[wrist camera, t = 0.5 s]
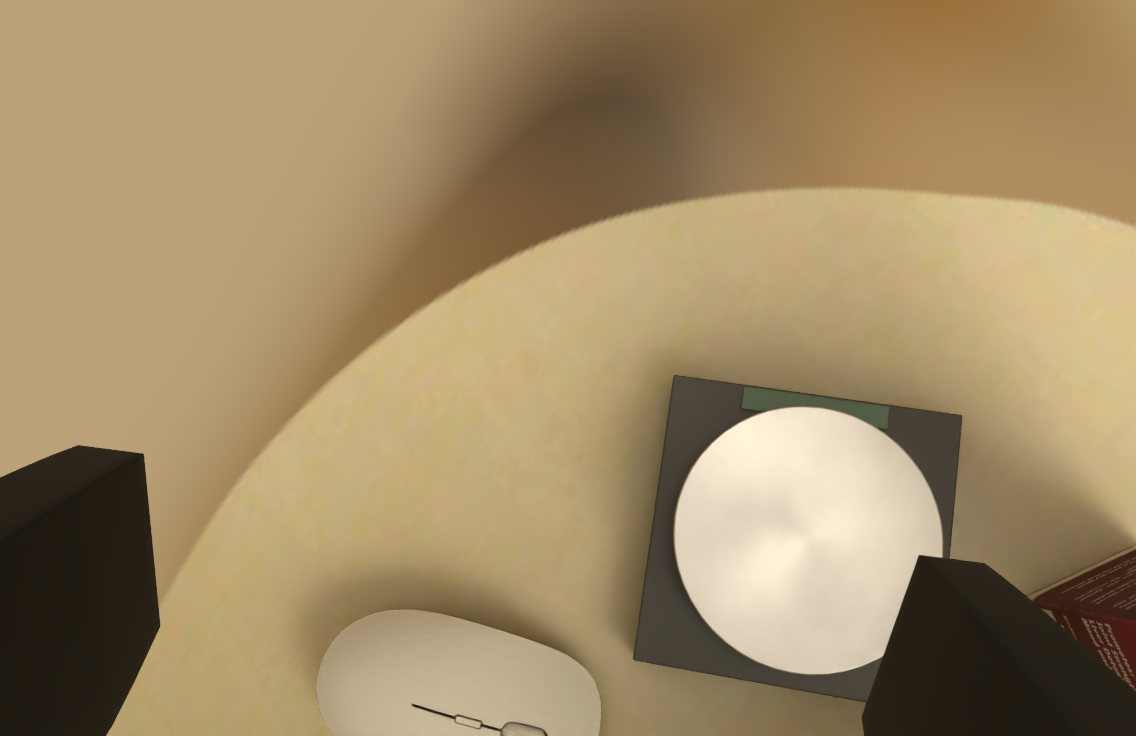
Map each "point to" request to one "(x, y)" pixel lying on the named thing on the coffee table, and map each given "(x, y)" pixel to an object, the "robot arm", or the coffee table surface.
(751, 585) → the scale pan
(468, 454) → the coffee table surface
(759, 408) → the scale
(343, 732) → the computer mouse
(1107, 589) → the supplement box
